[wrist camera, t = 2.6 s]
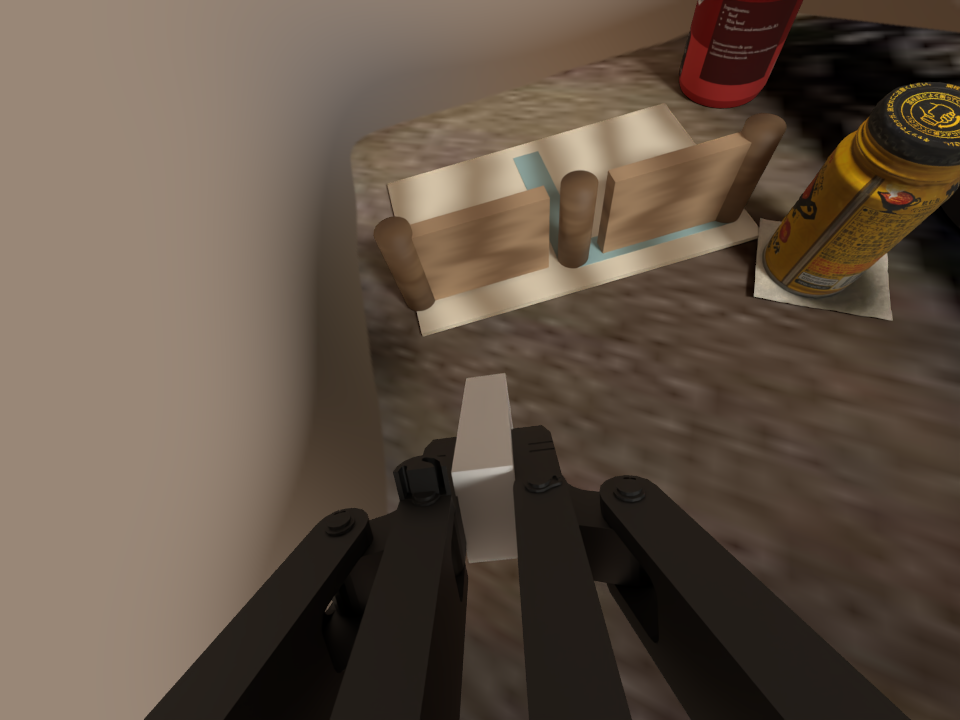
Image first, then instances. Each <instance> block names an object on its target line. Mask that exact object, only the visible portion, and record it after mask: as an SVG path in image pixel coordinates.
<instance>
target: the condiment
mask: <svg viewBox="0 0 960 720" xmlns="http://www.w3.org/2000/svg"><path fill="white" fill-rule="evenodd" d="M959 184H960V86H956V85H951V84H947V83H941V82H938V83H936V82H925V83H914V84H911V85H906V86H901V87H898V88H896V89H894V90H893V91H891V92H890V93H889V94H887V95H886V96H885V97H884V98H883V99H882V100H881V101H879V102H878V103H877V105H876V107H875V108H874V109H873V111H872V113H871V114H870V116H869V117H868V119H867V120H865V121H864V122H863V123H862V124H861V125H860V127H859V128H858V130H857V131H855V132H853V133H851V134H849V135H848V136H847V137H845V138H844V139H843V140H842V141H841V142H840V144H839V145H838V146H837V148H836V149H835V150H834V151H833V153H832V154H831V155H830V156H829V157H828V159H827V161H826V163H825V164H824V165H823V166H822V168H821V169H820V171H819V172H818V173H817V175H816V176H815V178H814V179H813V181H812V182H811V183H810V185H809V186H808V187H807V188H806V190H805V192H804V193H803V194H802V195H801V196H800V198H799V200H798V201H797V202H796V203H795V205H794V206H793V207H792V209H791V210H790V211H789V213H788V214H787V215H786V216H785V217H784V219H783V221H782V222H781V221H771V220H766V219H763V218H760V227H759V237H758V247H757V259H756V271H755V278H756V279H755V289H754V297H759V298H764V299H769V300H774V301H778V302H784V303H791V304H794V305H800V306H808V307H811V308H820V309H825V310H836V311H839V312H843V313H850V314H854V315H859V316H868V317H877V318H881V319H886V320H892V321H893V319H892V311H891V308H890V306H891V305H890V293H889V282H888V272H887V269H888V256H887V252H888V251H890V250H891V249H892V248H893V247H894V246H895V245H896V244H897V243H899V242H900V241H901V240H902V239H903V238H904V237H905V236H906V235H908V234H909V233H910V232H911V231H912V230H913V229H914V228H916V227H917V226H918V225H919V224H920V223H921V222H922V221H924V220H925V219H926V218H927V217H928V216H929V215H930V214H932V213H933V212H934V211H935V210H936V209H937V208H938V207H940V206H941V205H942V204H943V203H944V202H945V201H947V200H948V199H949V198H950V197H951V196H952V195H953V194H954V192H955V191H956V190H957V189H958V187H959Z"/></svg>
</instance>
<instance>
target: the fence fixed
mask: <svg viewBox="0 0 960 720" xmlns="http://www.w3.org/2000/svg"><path fill="white" fill-rule="evenodd" d="M786 127H787V126H786V123H785V121H784V120H783V119H782V118H780V117H778V116H776V115H773V114H769V113H759V114H755V115H752V116H751V117H749V118H748V119H747V120H746V122H745V124H744V127H743V129H742V131H741V132H738V133H735V134H731V135H728V136H724V137H721V138H717V139H714V140H711V141H707V142H704V143H700V144H697V145H693V146H690V147H687V148H683V149H680V150H676V151H673V152H669V153H666V154H663V155H659V156H656V157H652V158H649V159H645V160H642V161H639V162H635V163H632V164H628V165H625V166H621V167H618V168H615V169H611V170H608V175H607V181H606V188H605V194H604V201H603V207H602V213H601V220H600V226H599V233H598V239H597V243H598V245H599V247H600V249H601V251H602V253H606V252H610V251H613V250H617V249H620V248H623V247H627V246H630V245H634V244H637V243H640V242H644V241H647V240H651V239H654V238H658V237H661V236H664V235H668V234H671V233H675V232H678V231H682V230H685V229H688V228H692V227H695V226H699V225H702V224H705V223H709V222H712V221H717V222H720V223H731V222H735V221H736V220H738V218H739V217H740V215H741V213H742V211H743V209H744V208H745V206H746V204H747V202H748V200H749V198H750V196H751V194H752V192H753V191H754V189H755V187H756V185H757V183H758V181H759V179H760V177H761V176H762V174H763V172H764V170H765V168H766V166H767V164H768V162H769V161H770V159H771V157H772V155H773V153H774V151H775V149H776V147H777V146H778V144H779V142H780V140H781V138H782V136H783V134H784V132H785V131H786ZM598 184H599V182H598V179H597V177H596V176H595V175H594V174H593V173H591V172H588V171H584V170H577V171H572V172H570V173H568V174H566V175H565V176H564V177H563V178H562V180H561V185H560V209H559V234H558V261H559V262H560V264H561V265H563V266H564V267H567V268H578V267H580V266H582V265H584V264H585V263H586V262H587V260H588V258H589V250H590V243H591V236H592V228H593V221H594V214H595V206H596V199H597V192H598Z"/></svg>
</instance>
